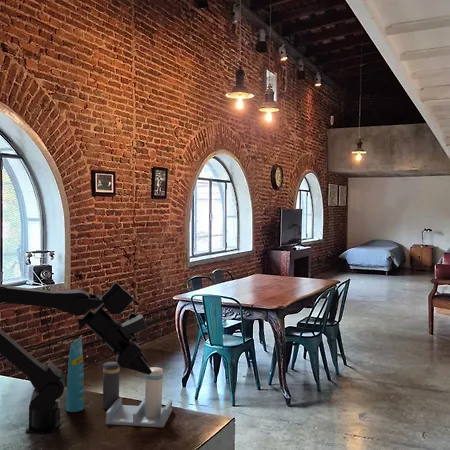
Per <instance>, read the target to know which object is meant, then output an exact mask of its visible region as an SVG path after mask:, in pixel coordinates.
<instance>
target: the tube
mask: <svg viewBox="0 0 450 450" xmlns="http://www.w3.org/2000/svg"><path fill="white" fill-rule="evenodd" d="M83 351H84V349H83V340H82V336H80V337H78V339H77V340H75V341H74V342H71V344H70V349H69V355H68V363H67V365H68V366H67V380H66V381H67V383H66V396H65V397H66V398H65V411H66V412H69V413H78V412H80V411H83V410H84V409H85V385H84V384H85V383H84V382H85V381H84V380H85V375H84V374H85V373H84V354H83V353H84V352H83Z"/></svg>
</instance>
